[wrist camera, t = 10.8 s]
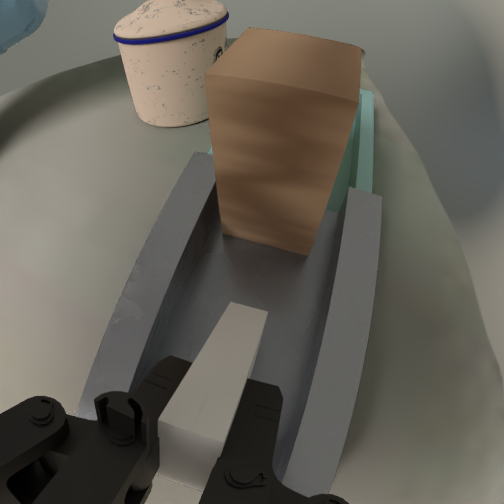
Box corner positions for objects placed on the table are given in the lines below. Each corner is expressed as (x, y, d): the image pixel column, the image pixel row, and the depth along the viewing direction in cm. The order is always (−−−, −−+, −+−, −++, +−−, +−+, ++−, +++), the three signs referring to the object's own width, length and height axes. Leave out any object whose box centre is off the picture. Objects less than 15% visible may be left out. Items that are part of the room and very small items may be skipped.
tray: (208, 190, 20) (203, 159, 18) (258, 93, 26) (259, 66, 23) (356, 227, 19) (371, 199, 17) (364, 118, 25) (373, 91, 22)
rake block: (222, 233, 18) (204, 73, 9) (248, 171, 20) (249, 27, 11) (308, 256, 17) (359, 102, 8) (323, 189, 19) (360, 47, 11)
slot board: (96, 423, 13) (63, 423, 10) (194, 187, 21) (187, 150, 17) (315, 494, 12) (332, 514, 9) (371, 231, 19) (390, 198, 16)
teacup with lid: (234, 125, 24) (230, -10, 13) (126, 138, 23) (88, 15, 13) (228, 62, 29) (225, -32, 19) (147, 72, 29) (130, -19, 19)
